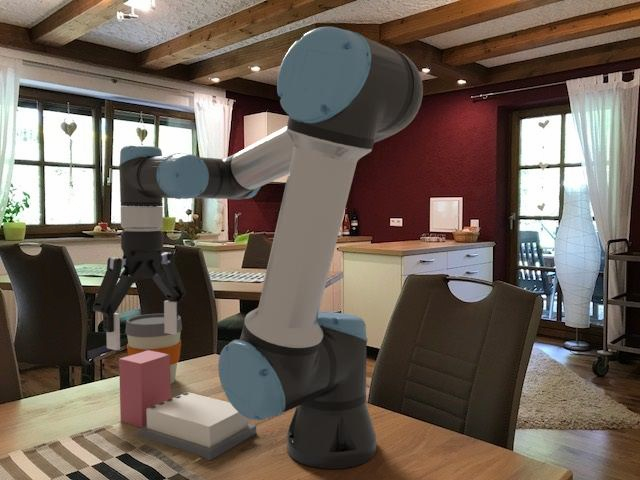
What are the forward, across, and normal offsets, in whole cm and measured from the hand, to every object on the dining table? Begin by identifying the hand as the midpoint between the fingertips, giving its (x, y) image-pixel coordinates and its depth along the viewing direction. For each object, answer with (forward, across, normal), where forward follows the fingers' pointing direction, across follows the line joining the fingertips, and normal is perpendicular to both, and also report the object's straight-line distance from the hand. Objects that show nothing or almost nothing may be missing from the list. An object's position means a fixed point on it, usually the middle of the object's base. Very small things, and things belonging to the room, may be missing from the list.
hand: (143, 340), depth 103 cm
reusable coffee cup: (+16, -16, -15) cm, 27 cm away
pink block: (+15, 0, 0) cm, 15 cm away
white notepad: (+15, 0, +14) cm, 21 cm away
